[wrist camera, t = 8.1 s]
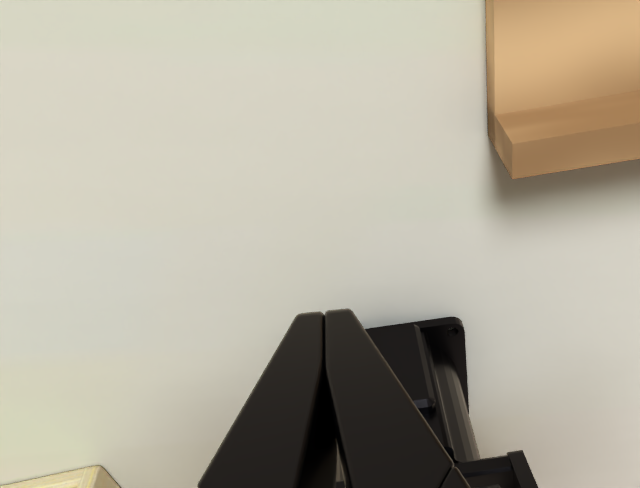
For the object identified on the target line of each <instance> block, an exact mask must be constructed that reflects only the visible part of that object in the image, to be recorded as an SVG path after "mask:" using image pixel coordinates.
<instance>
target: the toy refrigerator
mask: <svg viewBox="0 0 640 488" xmlns="http://www.w3.org/2000/svg"><path fill="white" fill-rule="evenodd" d="M0 488H120V487H119V486H118V484H117V483H116V482H115V481H114V480H113V479H112V477H111V476H110V475H109V474H108V473H107V472H106V471H105V469H104V468H102V467H101V466H91V467H85V468H81V469H77V470H72V471H67V472H63V473H58V474H53V475H49V476H44V477H40V478H35V479H31V480H26V481H22V482H17V483H12V484H8V485H3V486H0Z"/></svg>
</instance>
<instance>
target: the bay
mask: <svg viewBox="0 0 640 488" xmlns="http://www.w3.org/2000/svg"><path fill="white" fill-rule="evenodd" d="M486 54H487V111H488V136H489V138H490V140H491V142H492V143H493V145H494V147H495V149H496V151H497V153H498V154H499V156H500V158H501V160H502V162H503V163H504V165H505V167H506V169H507V171H508V173H509V174H510V176H511V178H512V179H517V178H524V177H530V176H536V175H542V174H548V173H554V172H561V171H567V170H573V169H579V168H585V167H591V166H598V165H604V164H610V163H616V162H622V161H628V160H635V159H640V0H486Z"/></svg>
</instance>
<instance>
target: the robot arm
mask: <svg viewBox="0 0 640 488" xmlns="http://www.w3.org/2000/svg"><path fill="white" fill-rule="evenodd" d="M450 328H454V329H452V330H448V329H450ZM197 487H198V488H538V486H537V484H536V481H535V479H534V477H533V474H532V472H531V470H530V467H529V465H528V463H527V460H526V458H525V455H524V453H523V451H522V450H520V451H514V452H507V455H505V456H498V457H492V458H485V459H480V456H479V452H478V448H477V444H476V441H475V437H474V433H473V429H472V426H471V422H470V418H469V405H468V387H467V368H466V350H465V332H464V327H463V324H462V321H461V320H460V319H459V318H456V317H446V318H439V319H432V320H425V321H418V322H411V323H404V324H397V325H390V326H383V327H376V328H369V329H364V328H363V326H362V325H361V323H360V322H359V320H358V319H357V317H356V316H355V314H354V313H353V312H352V311H351V310H350V309H339V310H329V311H327V312H326V313H325V315H324V314H323V313H322V312H309V313H301V314H298V315H297V316H296V317H295V319H294V321H293V322H292V324H291V326H290V327H289V329H288V331H287V333H286V334H285V336H284V338H283V339H282V341H281V343H280V345H279V346H278V348H277V350H276V351H275V353H274V355H273V356H272V358H271V360H270V362H269V363H268V365H267V367H266V368H265V370H264V372H263V374H262V375H261V377H260V379H259V380H258V382H257V384H256V386H255V387H254V389H253V391H252V392H251V394H250V396H249V398H248V399H247V401H246V403H245V404H244V406H243V408H242V410H241V411H240V413H239V415H238V416H237V418H236V420H235V421H234V423H233V425H232V427H231V428H230V430H229V432H228V433H227V435H226V437H225V439H224V440H223V442H222V444H221V445H220V447H219V449H218V451H217V452H216V454H215V456H214V457H213V459H212V461H211V463H210V464H209V466H208V468H207V469H206V471H205V473H204V475H203V476H202V478H201V480H200V481H199V483H198V486H197Z"/></svg>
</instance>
